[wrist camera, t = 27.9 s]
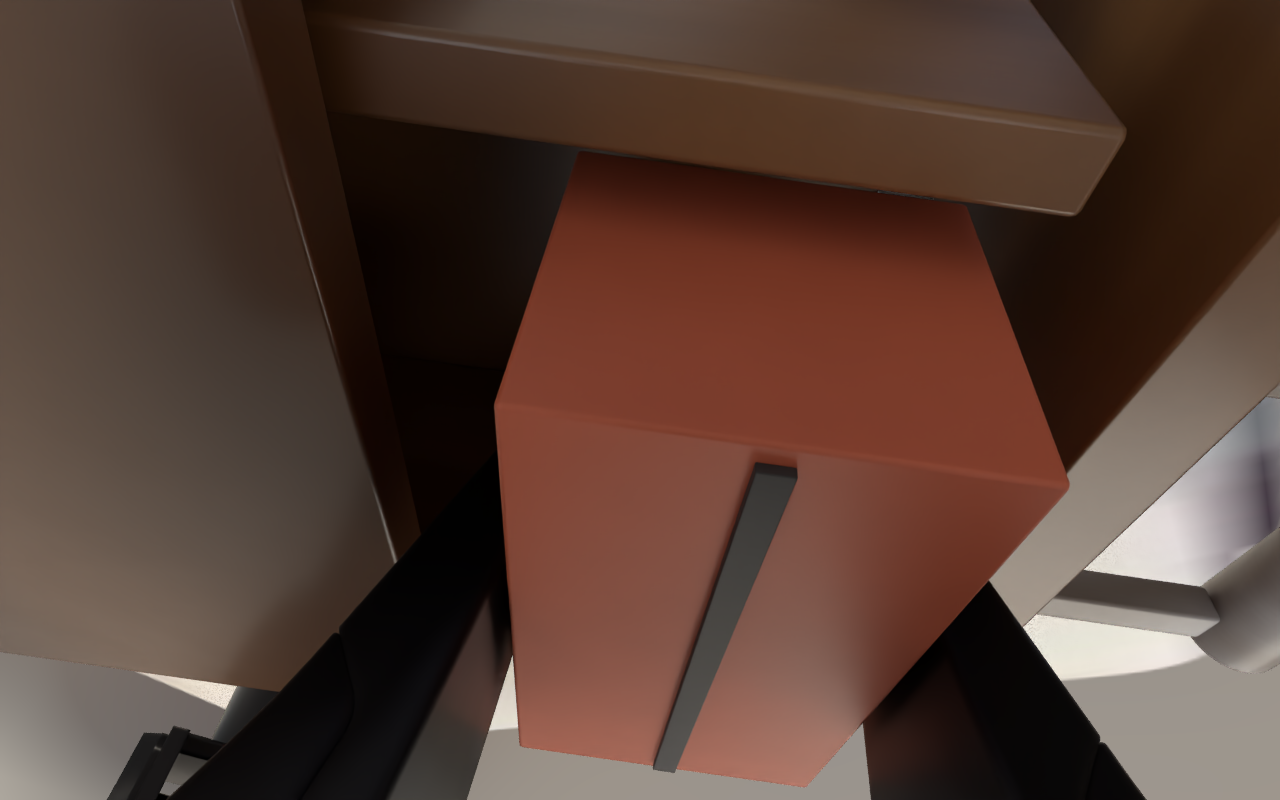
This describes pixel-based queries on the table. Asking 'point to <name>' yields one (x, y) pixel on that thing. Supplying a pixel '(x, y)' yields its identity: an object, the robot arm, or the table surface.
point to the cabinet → (183, 347)
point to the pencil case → (752, 462)
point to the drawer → (864, 160)
